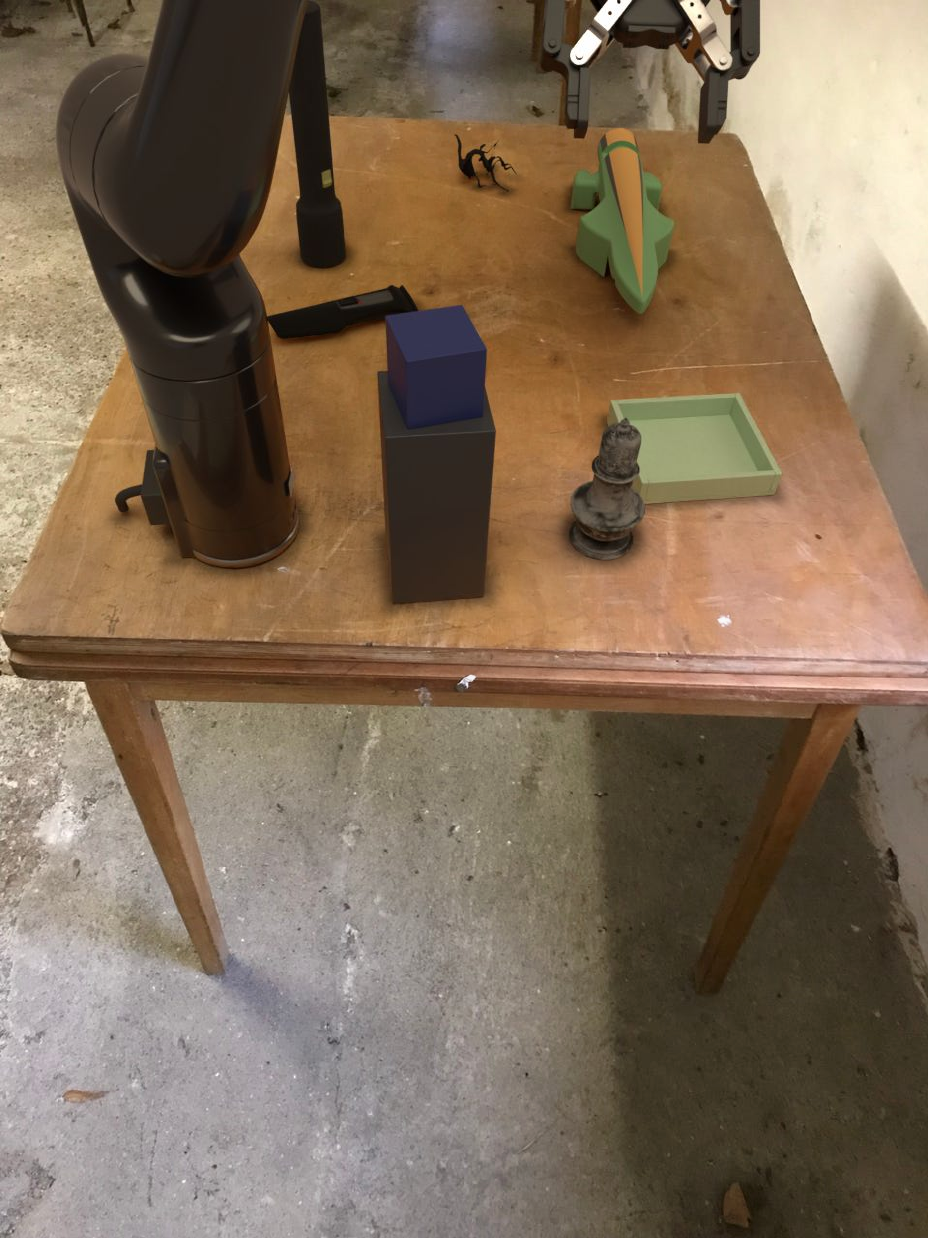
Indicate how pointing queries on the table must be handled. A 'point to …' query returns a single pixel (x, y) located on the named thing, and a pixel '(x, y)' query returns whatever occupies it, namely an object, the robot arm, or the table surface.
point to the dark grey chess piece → (609, 497)
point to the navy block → (435, 366)
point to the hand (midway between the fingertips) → (644, 136)
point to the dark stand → (435, 502)
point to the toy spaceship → (622, 219)
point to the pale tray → (697, 448)
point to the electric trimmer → (342, 313)
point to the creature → (467, 164)
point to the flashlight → (314, 151)
